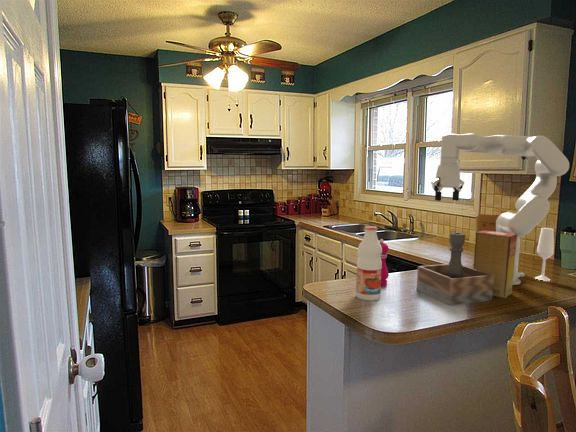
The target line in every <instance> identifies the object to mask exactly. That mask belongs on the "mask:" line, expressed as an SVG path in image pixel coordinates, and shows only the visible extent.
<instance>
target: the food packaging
mask: <svg viewBox="0 0 576 432" xmlns="http://www.w3.org/2000/svg"><path fill="white" fill-rule="evenodd" d="M516 242H517V234H509V233H501V232H493V231H485V230H484V231H479V232H477V233H476V234H475V245H474V254H473V255H474V256H473V257H474V258H473V267H472V268H473V269H476V270H479V271H482V272H485V273H488V274H491V275H494V283H493V295H492V297H495V296H496V297H495V298H501V299H507V297H509V296H511V295H512V293H513V286H514V285H513V273H514V262H515V253H516Z"/></svg>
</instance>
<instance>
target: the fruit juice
mask: <svg viewBox="0 0 576 432" xmlns="http://www.w3.org/2000/svg"><path fill="white" fill-rule="evenodd" d="M363 229H364V230H363V231H364V234H363V238H362V241H360V243H359V244H358V246H357V252H358V258H357V262H356V279H355V280H356V283H355V284H356V285H355V296H356V298H357V299H359V300H363V301H369V302H370V301H371V302H372V301H378V300H380V298H381V289H382V286H381V270H382V261H381V258H380V257H381V253H382V247H381V245H380V240H379V237H378V235H377V232H378V226H374V225H365V226H364V228H363Z"/></svg>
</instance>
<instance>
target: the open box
mask: <svg viewBox="0 0 576 432" xmlns="http://www.w3.org/2000/svg"><path fill="white" fill-rule="evenodd" d="M448 265H449V263H443V264H431V265H430V264H429V265H419V266H417V274H416V275H417V277H416V291H419V292H421V293H424V294H425V295H428V296H429V297H432V298H434V299H436V300H437V301H440V302H442V303H445V304H447V305H449V306H455V305H456V306H457V305H465V304H473V303H481V302H483V303H484V302H491V301H492V300H493V296H492V295H493V283H494V275H491V274H488V273H485V272H482V271H479V270H476V269H473V268H474V267H470V266H467V265H464V264H462V269H463V275H462V277H461V278H450V277H449V276H448V275H447V268H448Z"/></svg>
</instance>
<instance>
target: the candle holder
mask: <svg viewBox="0 0 576 432" xmlns="http://www.w3.org/2000/svg"><path fill="white" fill-rule="evenodd" d="M465 243H466V233H462V232H450V233H449V244H450V247H449V248H448V249H449V251H450V259H449V263H448V264H449V265H448V268H447V275H448V276H449V277H450V278H461V277H462V275H463V269H462V265H463V264H462V253H463V252H464V248H463V246H464V245H465Z"/></svg>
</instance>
